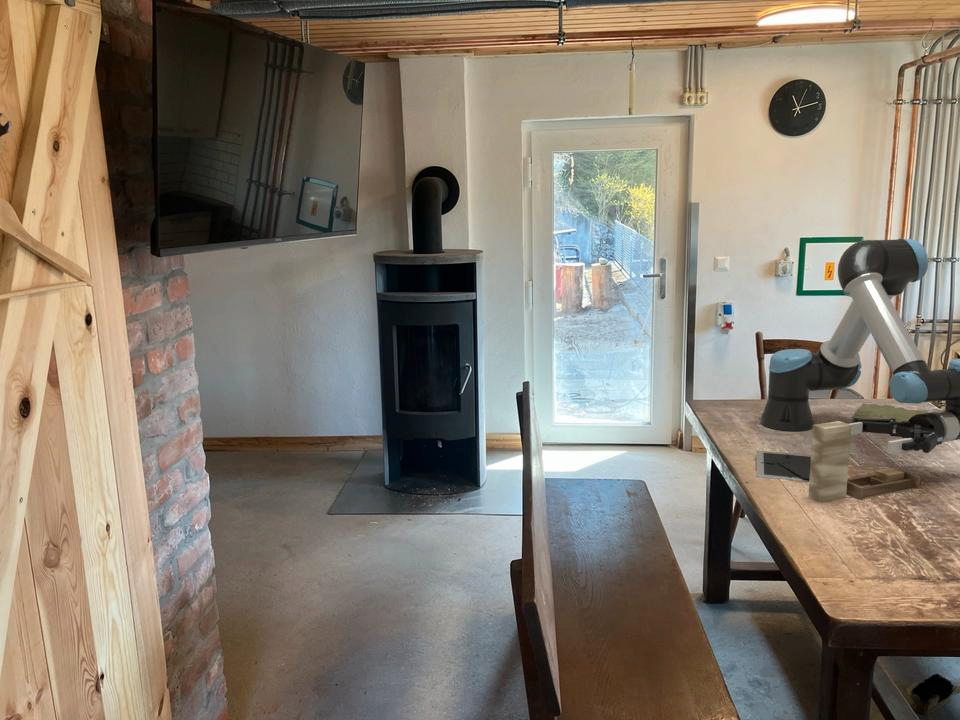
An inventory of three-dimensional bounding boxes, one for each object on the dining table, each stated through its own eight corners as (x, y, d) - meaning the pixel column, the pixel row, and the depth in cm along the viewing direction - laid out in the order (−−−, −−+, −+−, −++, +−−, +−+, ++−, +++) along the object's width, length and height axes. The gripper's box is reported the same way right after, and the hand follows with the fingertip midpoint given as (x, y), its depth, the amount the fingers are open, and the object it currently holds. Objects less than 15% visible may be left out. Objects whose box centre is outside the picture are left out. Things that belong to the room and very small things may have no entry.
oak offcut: (874, 484, 170) (875, 470, 169) (890, 481, 171) (891, 467, 171) (886, 489, 167) (888, 475, 166) (902, 486, 168) (904, 472, 167)
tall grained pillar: (808, 500, 164) (813, 424, 160) (833, 495, 166) (839, 421, 163) (819, 505, 160) (825, 429, 157) (845, 500, 163) (851, 425, 159)
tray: (831, 492, 169) (833, 476, 168) (889, 481, 174) (890, 466, 174) (859, 504, 161) (861, 488, 161) (918, 492, 167) (920, 476, 166)
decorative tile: (925, 434, 211) (926, 423, 211) (850, 425, 223) (851, 414, 222) (931, 419, 226) (932, 409, 225) (860, 411, 238) (861, 401, 237)
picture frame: (826, 490, 172) (819, 463, 191) (826, 479, 171) (820, 453, 190) (756, 483, 177) (756, 457, 196) (756, 472, 177) (756, 447, 196)
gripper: (981, 459, 160) (909, 472, 153) (886, 429, 183) (820, 439, 176) (985, 427, 158) (913, 438, 152) (888, 400, 181) (822, 410, 175)
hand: (863, 439), depth 164 cm, fingers open, 13 cm apart
